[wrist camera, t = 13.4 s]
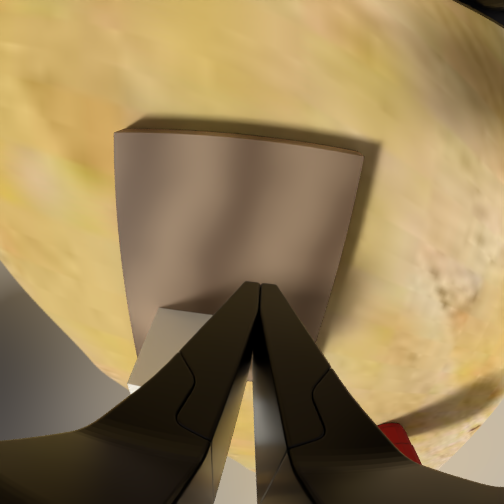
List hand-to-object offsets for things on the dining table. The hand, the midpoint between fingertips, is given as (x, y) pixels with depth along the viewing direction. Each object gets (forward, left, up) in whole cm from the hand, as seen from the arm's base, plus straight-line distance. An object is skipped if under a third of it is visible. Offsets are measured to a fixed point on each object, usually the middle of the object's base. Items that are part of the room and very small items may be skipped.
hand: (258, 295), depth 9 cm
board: (+2, +7, -12) cm, 14 cm away
